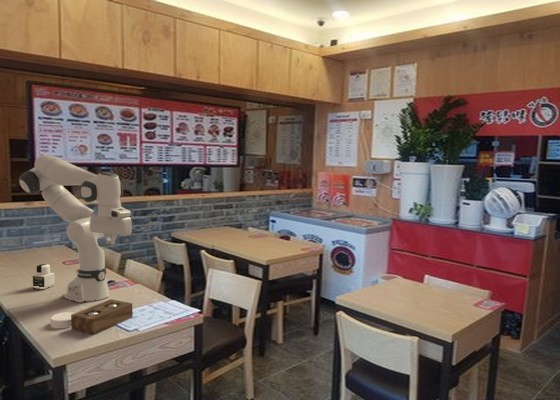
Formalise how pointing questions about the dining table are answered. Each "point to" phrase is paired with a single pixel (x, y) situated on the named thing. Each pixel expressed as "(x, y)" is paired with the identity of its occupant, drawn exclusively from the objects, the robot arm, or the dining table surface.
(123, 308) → the walnut block
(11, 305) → the dining table surface
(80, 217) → the robot arm
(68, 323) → the coaster
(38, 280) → the medicine bottle
